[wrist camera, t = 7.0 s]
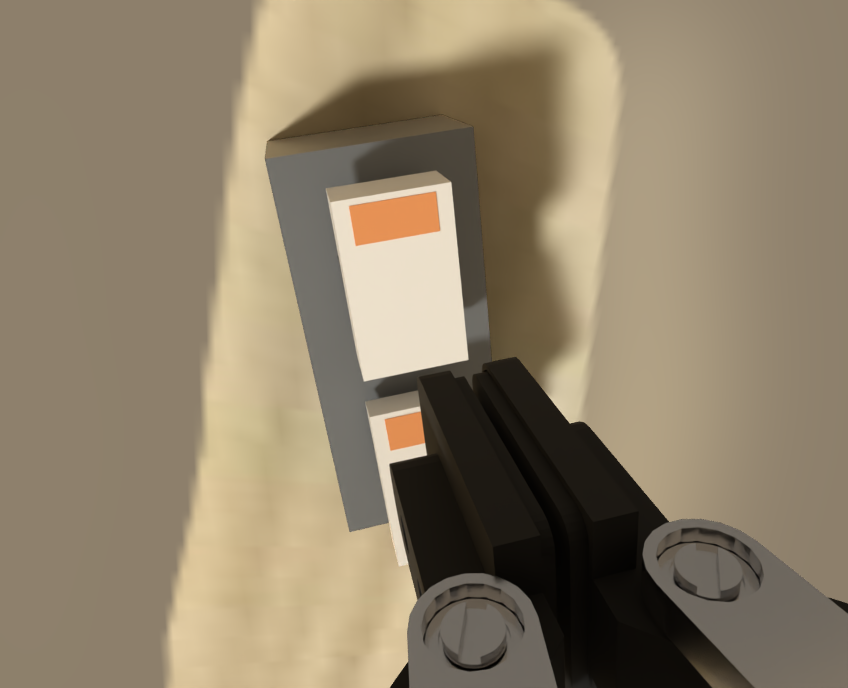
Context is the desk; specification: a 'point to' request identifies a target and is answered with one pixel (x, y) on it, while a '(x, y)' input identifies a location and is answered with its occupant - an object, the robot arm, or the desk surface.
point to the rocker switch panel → (323, 284)
